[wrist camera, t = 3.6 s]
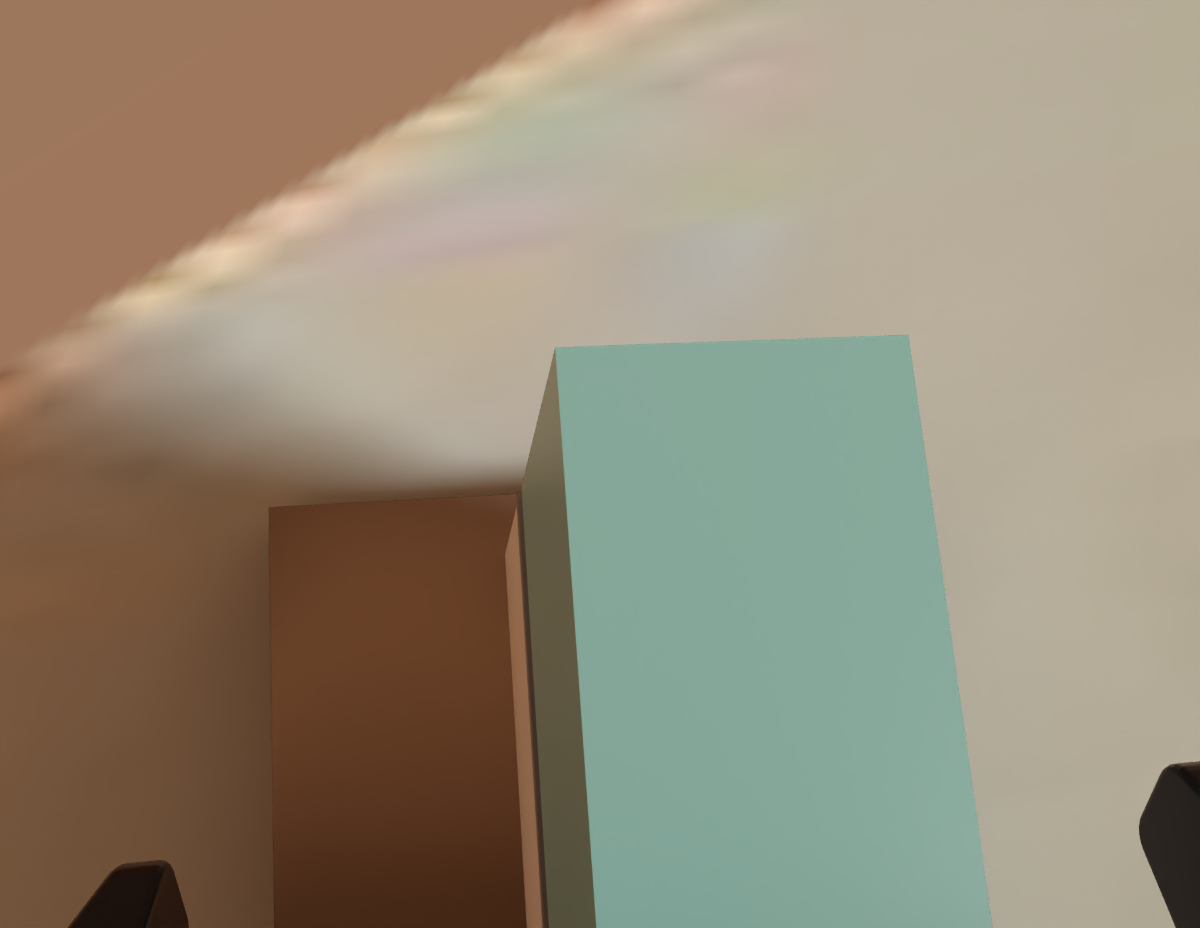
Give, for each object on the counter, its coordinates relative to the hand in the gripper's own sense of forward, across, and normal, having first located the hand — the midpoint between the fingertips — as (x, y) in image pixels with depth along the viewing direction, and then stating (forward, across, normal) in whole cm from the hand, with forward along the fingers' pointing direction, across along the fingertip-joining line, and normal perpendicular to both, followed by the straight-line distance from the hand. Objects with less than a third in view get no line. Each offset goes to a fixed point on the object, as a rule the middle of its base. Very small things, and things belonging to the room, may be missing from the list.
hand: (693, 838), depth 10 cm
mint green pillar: (0, 0, +2) cm, 2 cm away
